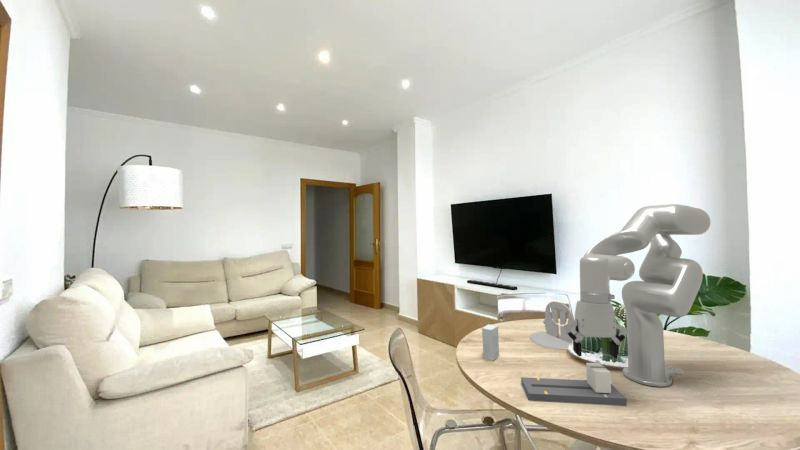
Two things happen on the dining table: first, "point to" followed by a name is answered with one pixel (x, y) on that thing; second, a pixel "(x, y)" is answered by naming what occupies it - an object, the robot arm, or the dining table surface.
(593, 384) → the fader tab
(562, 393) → the slider panel
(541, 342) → the ornament
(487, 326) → the skincare box
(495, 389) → the dining table surface
